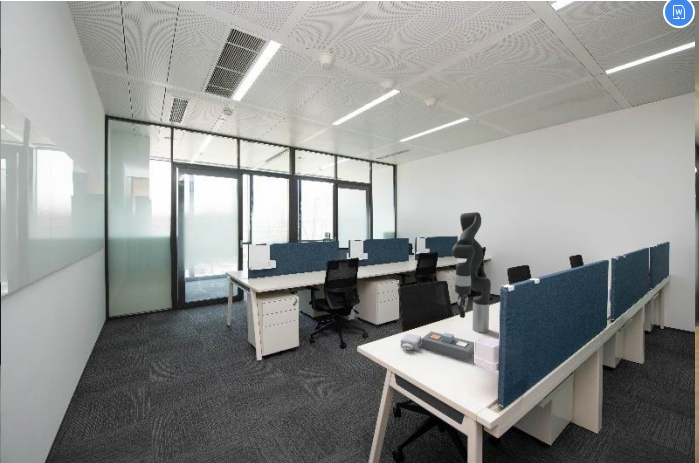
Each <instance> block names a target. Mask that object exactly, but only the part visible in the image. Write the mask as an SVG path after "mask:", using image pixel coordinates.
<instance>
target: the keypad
mask: <svg viewBox="0 0 699 463" xmlns="http://www.w3.org/2000/svg"><path fill="white" fill-rule="evenodd" d="M443 334H444V333H440V332H435V331H432V330H431V331H430V332H429V333H427V334H425V335H424V336H423V337H421V344H420V346H421V347H420V348H421V349H424V350H427V351H431V352H433V353H437V354H441V355H444V356H447V357H451V358H454V359H456V360H457V359H458V360H461V361H464V362H468V361H470V359H471V358H472V357H473V356H474V355H475V353H474V341H470V340H466V339H463V338H458V337H455V336H454V342H453V343H452V344H450V343H446V342H442V335H443ZM431 335H437V336H441V339H440V340H435V339H431V338H429V337H430V336H431ZM458 341H460V342H464V343H468V346H467V347H466V348H464V347H461V346H457V345H456V343H457V342H458ZM472 355H473V356H472Z"/></svg>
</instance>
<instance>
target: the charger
mask: <svg viewBox="0 0 699 463" xmlns="http://www.w3.org/2000/svg"><path fill="white" fill-rule="evenodd" d="M421 339H422V336H421V335H418V334H412V333H404V335H403V337H402V338H401V339H400V347H401V348H402V349H404V350H406V351H411V350H413V351H418V350H419V348H420V346H421Z"/></svg>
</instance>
